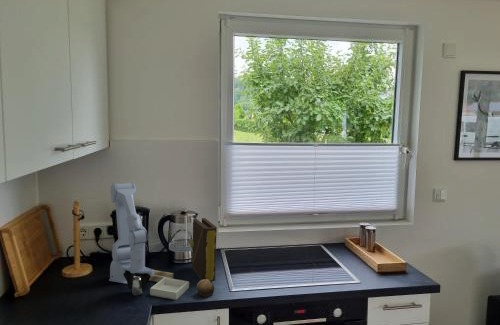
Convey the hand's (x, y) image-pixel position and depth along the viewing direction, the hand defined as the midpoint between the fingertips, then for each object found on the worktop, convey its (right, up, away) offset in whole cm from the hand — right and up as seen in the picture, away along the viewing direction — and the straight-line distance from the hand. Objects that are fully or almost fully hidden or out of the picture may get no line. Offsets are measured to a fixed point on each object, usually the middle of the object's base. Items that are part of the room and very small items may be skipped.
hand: (137, 289), depth 158 cm
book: (+24, -1, +24) cm, 35 cm away
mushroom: (+28, -3, +2) cm, 29 cm away
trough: (+5, 0, +15) cm, 16 cm away
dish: (+13, -2, +3) cm, 14 cm away
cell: (0, -2, 0) cm, 2 cm away
